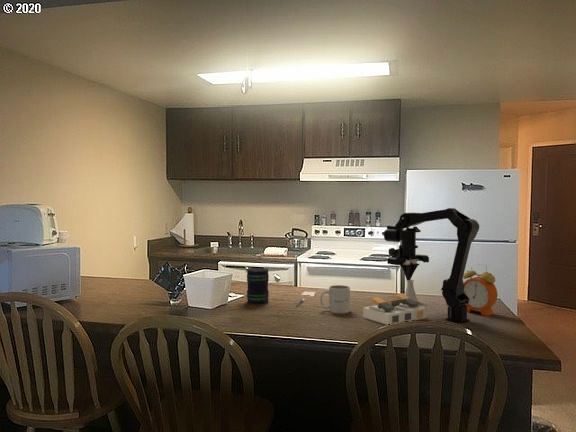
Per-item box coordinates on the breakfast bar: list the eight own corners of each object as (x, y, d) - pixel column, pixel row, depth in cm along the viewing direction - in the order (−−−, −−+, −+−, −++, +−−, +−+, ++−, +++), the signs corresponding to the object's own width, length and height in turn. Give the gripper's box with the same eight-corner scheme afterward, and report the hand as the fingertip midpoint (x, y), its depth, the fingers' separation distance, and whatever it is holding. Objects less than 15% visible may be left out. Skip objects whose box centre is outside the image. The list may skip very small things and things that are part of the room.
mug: (349, 308, 202) (349, 285, 202) (349, 313, 194) (349, 289, 193) (320, 307, 204) (321, 284, 203) (319, 312, 195) (319, 288, 195)
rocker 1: (392, 312, 181) (394, 307, 180) (386, 313, 179) (387, 308, 178) (377, 302, 188) (378, 296, 187) (370, 303, 186) (371, 297, 186)
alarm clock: (459, 310, 198) (460, 263, 198) (467, 308, 202) (467, 262, 202) (490, 316, 188) (490, 266, 188) (497, 314, 192) (498, 265, 191)
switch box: (426, 318, 186) (426, 305, 186) (388, 325, 175) (389, 312, 175) (399, 311, 198) (399, 299, 198) (363, 317, 187) (363, 304, 187)
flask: (418, 303, 212) (418, 281, 212) (402, 303, 214) (402, 280, 213) (417, 300, 219) (417, 278, 219) (401, 299, 221) (401, 278, 220)
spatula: (315, 294, 234) (315, 291, 234) (303, 308, 205) (303, 304, 205) (303, 294, 235) (303, 291, 235) (289, 307, 207) (289, 304, 207)
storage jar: (243, 304, 211) (243, 270, 210) (250, 299, 220) (250, 267, 220) (265, 305, 208) (265, 271, 208) (271, 300, 218) (271, 268, 217)
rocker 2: (406, 305, 183) (405, 298, 184) (400, 306, 181) (399, 299, 182) (390, 306, 191) (389, 300, 191) (384, 307, 189) (383, 301, 189)
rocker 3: (416, 308, 188) (418, 303, 187) (410, 309, 186) (411, 304, 185) (400, 298, 195) (401, 293, 194) (394, 299, 193) (395, 294, 192)
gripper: (410, 240, 208) (410, 275, 209) (378, 242, 198) (378, 279, 199) (430, 242, 199) (429, 279, 199) (397, 244, 189) (397, 283, 189)
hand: (408, 280), depth 197 cm, fingers closed
